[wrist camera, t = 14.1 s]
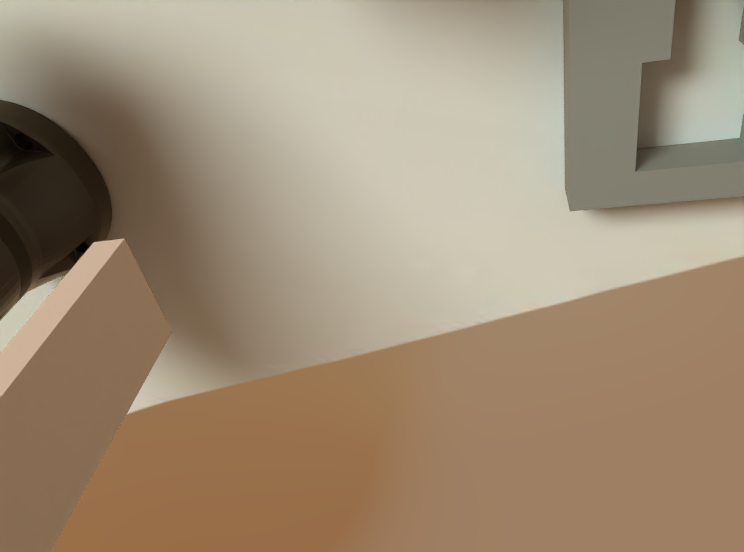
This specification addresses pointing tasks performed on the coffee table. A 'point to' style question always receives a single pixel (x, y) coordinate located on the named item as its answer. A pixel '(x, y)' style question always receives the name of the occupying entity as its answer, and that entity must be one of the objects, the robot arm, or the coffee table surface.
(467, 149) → the coffee table surface
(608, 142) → the keyhole board
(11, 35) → the coffee table surface
